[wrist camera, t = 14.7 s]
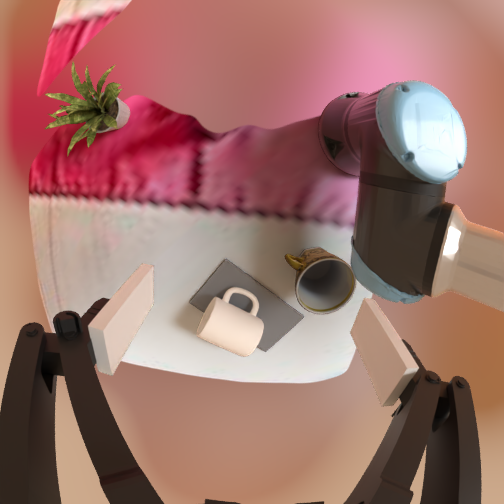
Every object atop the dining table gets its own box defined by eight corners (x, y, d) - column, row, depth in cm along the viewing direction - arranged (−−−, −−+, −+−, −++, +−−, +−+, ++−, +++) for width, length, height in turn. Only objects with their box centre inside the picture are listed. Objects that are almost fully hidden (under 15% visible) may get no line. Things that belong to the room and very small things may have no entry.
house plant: (126, 60, 37) (82, 33, 22) (171, 103, 41) (134, 83, 25) (78, 116, 40) (23, 112, 25) (117, 160, 44) (65, 169, 28)
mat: (303, 315, 55) (304, 317, 55) (265, 350, 58) (265, 352, 58) (225, 258, 51) (225, 259, 50) (190, 301, 54) (189, 302, 53)
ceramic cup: (348, 256, 51) (368, 279, 41) (316, 295, 54) (328, 323, 44) (296, 218, 48) (308, 234, 39) (264, 261, 51) (267, 286, 41)
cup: (238, 351, 55) (194, 331, 53) (264, 300, 57) (221, 278, 55) (249, 363, 47) (198, 340, 45) (278, 304, 49) (229, 278, 47)
